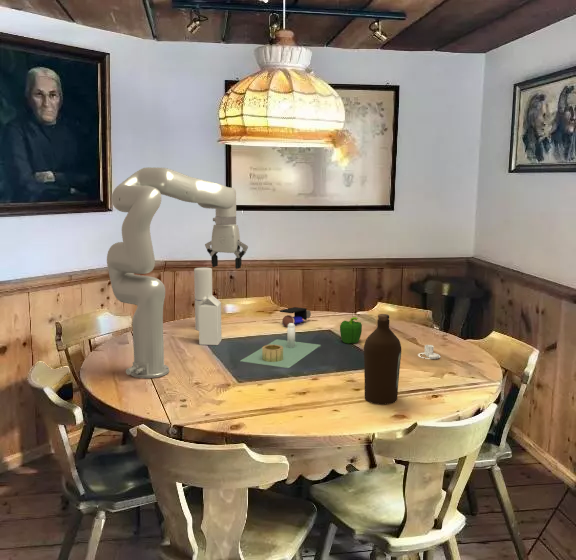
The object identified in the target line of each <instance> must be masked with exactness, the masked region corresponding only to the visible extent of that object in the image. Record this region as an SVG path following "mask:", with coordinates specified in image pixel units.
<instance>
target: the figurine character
mask: <svg viewBox="0 0 576 560" xmlns="http://www.w3.org/2000/svg"><path fill="white" fill-rule="evenodd" d="M279 313H286V314H287V315H284V317H283V318H282V325H283V326H284V327H285V328H287V326H288V324H289V323H293V324H294V325H296V324H305V323H306V321H307V319H309V318H311V316H312V315H311V314H312V313H311V311H310V310H307V307H306V308H305V307H299V306H298V307H297V306H294V307H289V308H285V309H284V308H283V309H281V310H279ZM288 314H289V315H288ZM290 314H294V316H292V315H290Z"/></svg>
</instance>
